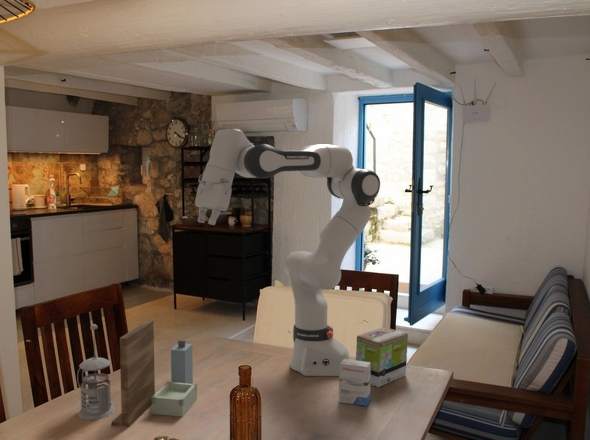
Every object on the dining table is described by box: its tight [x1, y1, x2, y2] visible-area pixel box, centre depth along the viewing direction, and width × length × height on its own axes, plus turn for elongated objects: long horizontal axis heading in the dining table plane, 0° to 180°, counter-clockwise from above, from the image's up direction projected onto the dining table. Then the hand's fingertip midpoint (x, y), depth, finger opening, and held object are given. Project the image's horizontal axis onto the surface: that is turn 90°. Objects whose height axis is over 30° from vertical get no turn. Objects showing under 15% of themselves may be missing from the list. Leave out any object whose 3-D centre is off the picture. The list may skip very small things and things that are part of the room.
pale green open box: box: [151, 381, 198, 418], centre depth 159 cm, size 9×11×5 cm
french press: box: [76, 323, 115, 421], centre depth 155 cm, size 10×12×25 cm
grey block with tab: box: [170, 339, 194, 384], centre depth 171 cm, size 4×6×15 cm
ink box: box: [338, 358, 371, 407], centre depth 163 cm, size 8×5×12 cm, turn 71°
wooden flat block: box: [111, 320, 156, 428], centre depth 154 cm, size 5×16×24 cm, turn 170°
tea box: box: [355, 326, 409, 388], centre depth 181 cm, size 15×10×15 cm
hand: (205, 223), depth 167 cm, fingers open, 8 cm apart
